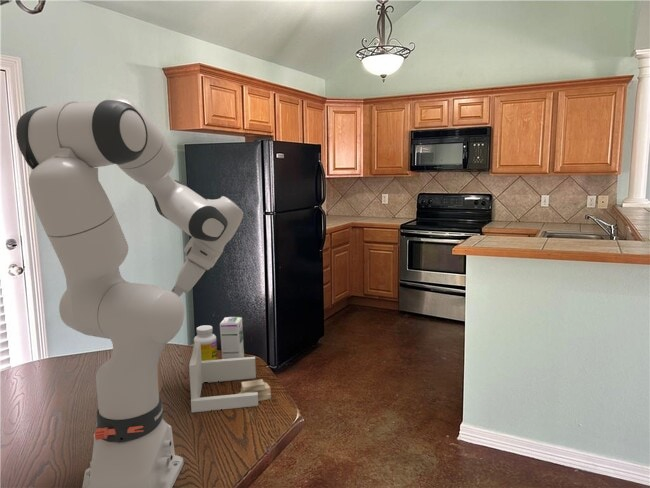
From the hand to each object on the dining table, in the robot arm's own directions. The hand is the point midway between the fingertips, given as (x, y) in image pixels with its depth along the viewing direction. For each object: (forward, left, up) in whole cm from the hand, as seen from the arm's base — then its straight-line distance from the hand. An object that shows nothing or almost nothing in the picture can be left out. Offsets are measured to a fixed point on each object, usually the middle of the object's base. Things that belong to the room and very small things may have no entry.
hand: (172, 297), depth 124 cm
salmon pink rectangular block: (+1, +7, -26) cm, 27 cm away
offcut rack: (-4, -13, -26) cm, 29 cm away
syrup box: (+14, -15, -27) cm, 33 cm away
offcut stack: (-8, -20, -27) cm, 35 cm away
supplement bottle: (+13, -7, -27) cm, 30 cm away
